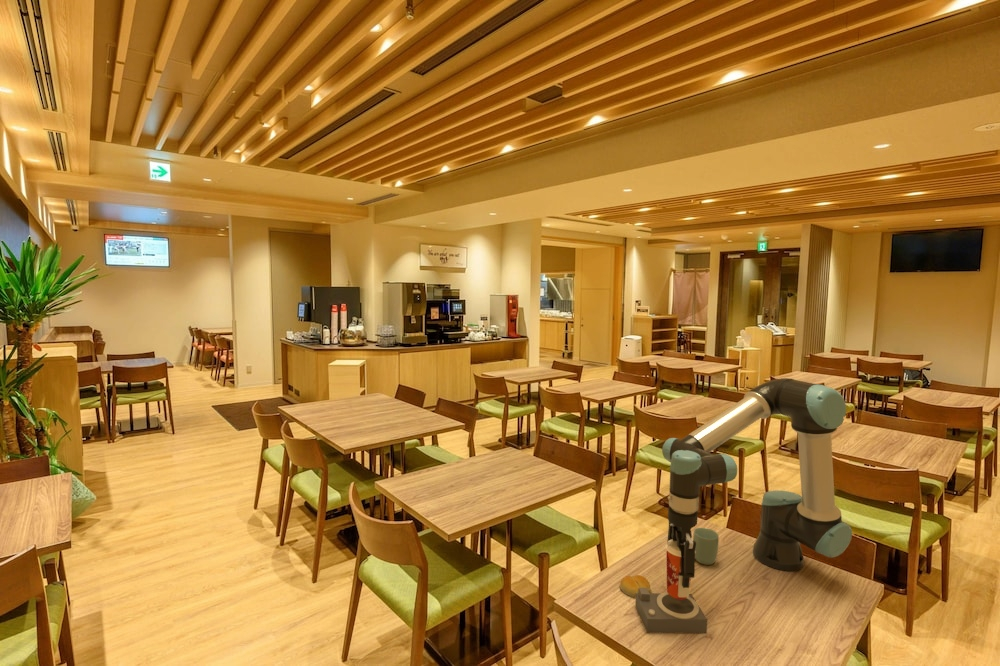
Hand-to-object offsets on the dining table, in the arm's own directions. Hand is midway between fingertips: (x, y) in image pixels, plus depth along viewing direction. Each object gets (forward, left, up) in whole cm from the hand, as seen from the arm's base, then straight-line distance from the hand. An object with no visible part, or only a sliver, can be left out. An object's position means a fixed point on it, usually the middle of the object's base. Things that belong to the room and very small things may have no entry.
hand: (678, 588), depth 138 cm
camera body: (+2, 0, -9) cm, 9 cm away
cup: (-20, -29, -9) cm, 37 cm away
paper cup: (0, 0, -2) cm, 2 cm away
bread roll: (+8, -13, -10) cm, 18 cm away
